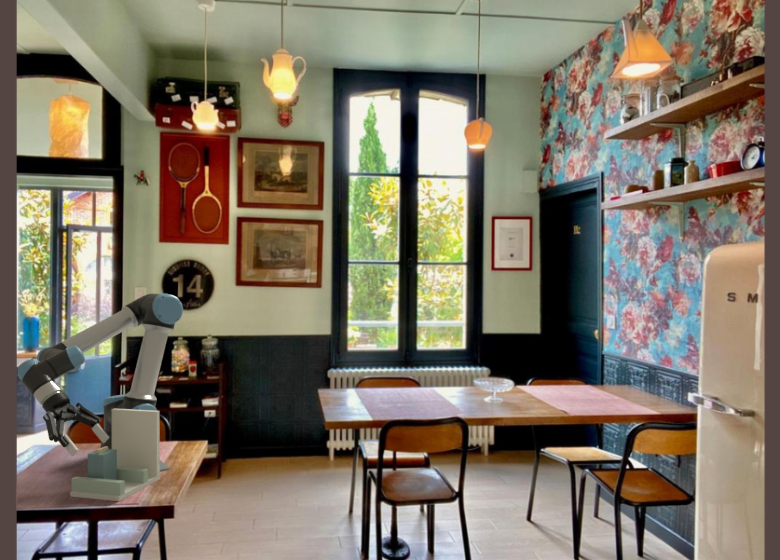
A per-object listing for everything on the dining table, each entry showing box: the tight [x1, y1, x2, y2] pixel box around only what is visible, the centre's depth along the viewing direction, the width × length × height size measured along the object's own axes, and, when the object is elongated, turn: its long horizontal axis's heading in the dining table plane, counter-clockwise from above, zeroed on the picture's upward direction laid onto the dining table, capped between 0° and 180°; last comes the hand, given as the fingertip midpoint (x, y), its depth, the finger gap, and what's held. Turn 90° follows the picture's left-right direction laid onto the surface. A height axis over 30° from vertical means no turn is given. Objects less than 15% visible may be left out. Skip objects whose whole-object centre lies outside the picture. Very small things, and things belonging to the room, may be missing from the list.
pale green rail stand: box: [69, 409, 161, 502], centre depth 182 cm, size 20×18×24 cm
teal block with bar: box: [87, 446, 117, 480], centre depth 180 cm, size 6×6×12 cm
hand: (91, 446), depth 181 cm, fingers open, 13 cm apart
